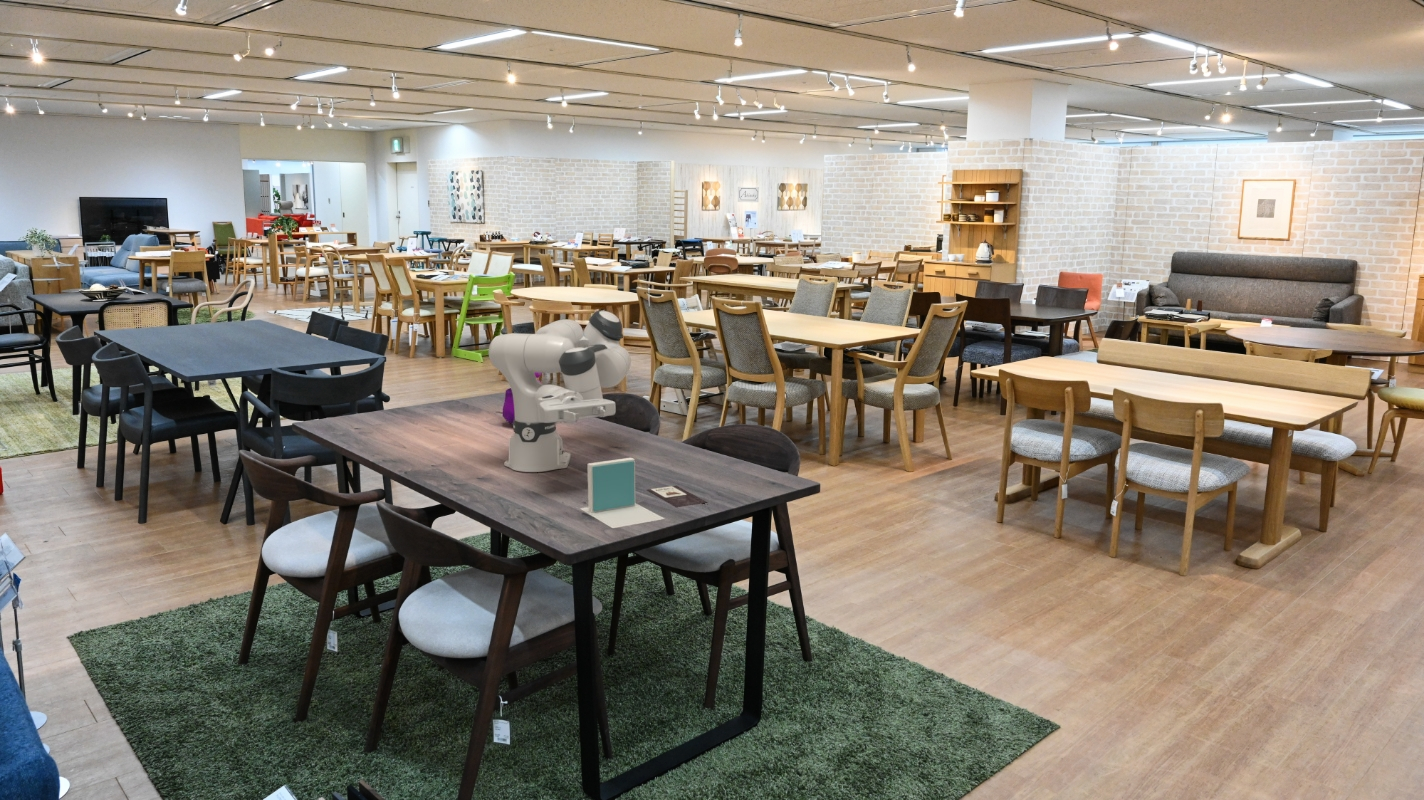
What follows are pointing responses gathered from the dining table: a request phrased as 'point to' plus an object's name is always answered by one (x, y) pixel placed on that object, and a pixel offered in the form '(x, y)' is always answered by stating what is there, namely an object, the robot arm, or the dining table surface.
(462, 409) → the dining table surface
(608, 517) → the mat
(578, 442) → the dining table surface
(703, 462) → the dining table surface
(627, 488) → the tile
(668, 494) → the chocolate bar
